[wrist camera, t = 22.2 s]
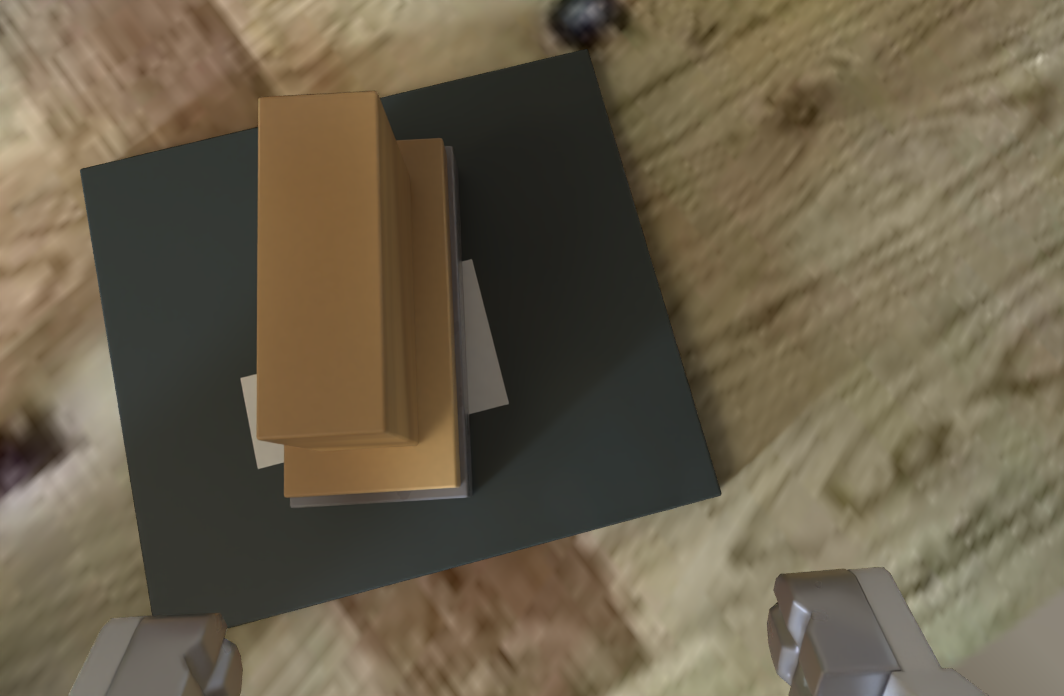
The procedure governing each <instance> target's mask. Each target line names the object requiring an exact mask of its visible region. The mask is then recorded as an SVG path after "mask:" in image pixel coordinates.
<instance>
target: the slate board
mask: <svg viewBox="0 0 1064 696" xmlns="http://www.w3.org/2000/svg"><path fill="white" fill-rule="evenodd" d="M380 100H381V103H382V105H383V108H384V111H385V113H386V116H387V118H388V121H389V124H390V126H391V129H392V131H393V134H394V137H395V139H396V140H413V139H432V138H442V139H443V142H444V146H452V147H453V150H454V154H455V158H456V163H457V167H458V180H459V202H460V224H461V247H462V269H463V291H464V313H465V335H466V357H467V379H468V401H469V424H470V446H471V468H472V490H473V495H472V496H471V497H466V498H450V499H434V500H418V501H402V502H385V503H369V504H353V505H336V506H320V507H304V508H291V506H290V498H286V497H285V496H284V445H282V444H277V443H271V442H265V441H260V440H257V437H256V409H257V244H258V127H256V128H252V129H247V130H243V131H239V132H235V133H230V134H226V135H222V136H218V137H214V138H209V139H205V140H201V141H197V142H193V143H188V144H184V145H180V146H176V147H171V148H167V149H163V150H159V151H155V152H150V153H146V154H142V155H138V156H134V157H129V158H125V159H121V160H117V161H112V162H108V163H104V164H100V165H96V166H91V167H87V168H83V169H81V170H80V173H81V179H82V186H83V192H84V198H85V204H86V210H87V216H88V223H89V229H90V235H91V241H92V247H93V253H94V260H95V266H96V272H97V278H98V284H99V290H100V297H101V303H102V309H103V315H104V321H105V327H106V334H107V340H108V346H109V352H110V358H111V364H112V371H113V377H114V383H115V389H116V395H117V401H118V408H119V414H120V420H121V426H122V432H123V438H124V445H125V451H126V457H127V463H128V469H129V475H130V482H131V488H132V494H133V500H134V506H135V512H136V519H137V525H138V531H139V537H140V543H141V549H142V556H143V562H144V568H145V574H146V580H147V586H148V593H149V599H150V605H151V611H152V616H160V615H181V614H202V613H221V615H222V617H223V619H224V620H225V622H226V624H227V626H228V627H227V629H228V628H231V627H235V626H239V625H243V624H246V623H250V622H254V621H257V620H261V619H265V618H269V617H272V616H276V615H280V614H283V613H287V612H291V611H295V610H298V609H302V608H306V607H309V606H313V605H317V604H320V603H324V602H328V601H332V600H335V599H339V598H343V597H346V596H350V595H354V594H358V593H361V592H365V591H369V590H372V589H376V588H380V587H384V586H387V585H391V584H395V583H398V582H402V581H406V580H410V579H413V578H417V577H421V576H424V575H428V574H432V573H436V572H439V571H443V570H447V569H450V568H454V567H458V566H461V565H465V564H469V563H473V562H476V561H480V560H484V559H487V558H491V557H495V556H499V555H502V554H506V553H510V552H513V551H517V550H521V549H525V548H528V547H532V546H536V545H539V544H543V543H547V542H551V541H554V540H558V539H562V538H565V537H569V536H573V535H577V534H580V533H584V532H588V531H591V530H595V529H599V528H602V527H606V526H610V525H614V524H617V523H621V522H625V521H628V520H632V519H636V518H640V517H643V516H647V515H651V514H654V513H658V512H662V511H666V510H669V509H673V508H677V507H680V506H684V505H688V504H692V503H695V502H699V501H703V500H706V499H710V498H714V497H718V496H720V495H721V490H720V487H719V483H718V480H717V477H716V473H715V470H714V467H713V463H712V460H711V457H710V453H709V450H708V447H707V443H706V440H705V437H704V433H703V430H702V427H701V423H700V420H699V417H698V414H697V410H696V407H695V404H694V400H693V397H692V394H691V390H690V387H689V384H688V380H687V377H686V374H685V370H684V367H683V364H682V360H681V357H680V354H679V350H678V347H677V344H676V341H675V337H674V334H673V331H672V327H671V324H670V321H669V317H668V314H667V311H666V307H665V304H664V301H663V297H662V294H661V291H660V287H659V284H658V281H657V277H656V274H655V271H654V267H653V264H652V261H651V258H650V254H649V251H648V248H647V244H646V241H645V238H644V234H643V231H642V228H641V224H640V221H639V218H638V214H637V211H636V208H635V204H634V201H633V198H632V194H631V191H630V188H629V184H628V181H627V178H626V175H625V171H624V168H623V165H622V161H621V158H620V155H619V151H618V148H617V145H616V141H615V138H614V135H613V131H612V128H611V125H610V121H609V118H608V115H607V111H606V108H605V105H604V102H603V98H602V95H601V92H600V88H599V85H598V82H597V78H596V75H595V72H594V68H593V65H592V62H591V58H590V55H589V52H588V50H587V49H584V50H580V51H576V52H572V53H568V54H563V55H559V56H555V57H551V58H546V59H542V60H538V61H534V62H530V63H525V64H521V65H517V66H513V67H509V68H504V69H500V70H496V71H492V72H487V73H483V74H479V75H475V76H471V77H466V78H462V79H458V80H454V81H450V82H445V83H441V84H437V85H433V86H428V87H424V88H420V89H416V90H412V91H407V92H403V93H399V94H395V95H391V96H386V97H382V98H380Z"/></svg>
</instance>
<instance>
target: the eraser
mask: <svg viewBox="0 0 1064 696" xmlns="http://www.w3.org/2000/svg"><path fill="white" fill-rule="evenodd" d="M256 437H257V440H260V441H265V442H271V443H277V444H282V445H284V496H285V497H286V498H290V506H291V508H304V507H320V506H336V505H353V504H369V503H385V502H402V501H418V500H434V499H450V498H466V497H471V496H472V495H473V490H472V468H471V446H470V424H469V401H468V379H467V357H466V335H465V313H464V291H463V269H462V247H461V224H460V202H459V180H458V167H457V163H456V158H455V154H454V150H453V147H452V146H444V142H443V139H442V138H432V139H413V140H396V139H395V137H394V134H393V131H392V129H391V126H390V124H389V121H388V118H387V116H386V113H385V111H384V108H383V105H382V103H381V100H380V98H379V95H378V93H377V92H376V91H362V92H344V93H325V94H307V95H288V96H270V97H260V98H259V100H258V244H257V409H256Z"/></svg>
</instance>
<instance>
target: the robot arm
mask: <svg viewBox="0 0 1064 696" xmlns="http://www.w3.org/2000/svg"><path fill="white" fill-rule="evenodd" d="M774 593H775V596H776V598H777V601H778V602H777V603H776V604H775V605H774V606H773V607H771V608H770V609H769V615H768V621H767V631H768V643H769V648H770V652H771V657H772V660H773V663H774V666H775V670H776V673H777V674H778V675H779V676H780V677H781V678H782V679H783V680H784V681H786V682H787V683H788V684H789V685H790V686H791V688H790V692H789V696H989V695H987V694H986V693H985V692H983V691H982V690H981V689H979V688H978V687H977V686H975V685H974V684H973V683H971V682H970V681H969V680H968V679H966V678H965V677H963V676H962V675H961V674H960V673H958V672H957V671H956V670H954V669H953V668H941V666H940V664H939V662H938V660H937V659H936V657H935V655H934V653H933V651H932V649H931V647H930V646H929V644H928V642H927V640H926V638H925V636H924V635H923V633H922V631H921V629H920V627H919V625H918V623H917V622H916V620H915V618H914V616H913V614H912V612H911V611H910V609H909V607H908V605H907V603H906V601H905V599H904V598H903V596H902V594H901V592H900V590H899V588H898V587H897V585H896V583H895V581H894V579H893V577H892V575H891V574H890V573H889V572H888V571H887V570H886V569H885V568H884V567H873V568H861V569H849V570H846V569H835V570H823V571H811V572H798V573H786V574H780V575H779V576H778V577H777V578H776V581H775V585H774ZM227 627H228V626H227V624H226V622H225V620H224V619H223V617H222V615H221V613H202V614H181V615H160V616H137V617H121V618H111V619H110V620H109V621H108V622H107V623H106V624H105V625H104V626H103V627H102V629H101V630H100V632H99V634H98V636H97V638H96V640H95V642H94V644H93V646H92V648H91V650H90V652H89V654H88V656H87V658H86V660H85V662H84V664H83V667H82V669H81V671H80V673H79V675H78V677H77V679H76V681H75V683H74V685H73V687H72V689H71V691H70V693H69V695H68V696H240V693H241V685H242V672H243V669H242V662H241V656H240V653H239V651H238V648H237V646H236V645H235V644H234V643H232V642H230V641H228V640H227V639H225V638H224V636H225V633H226V630H227Z"/></svg>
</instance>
